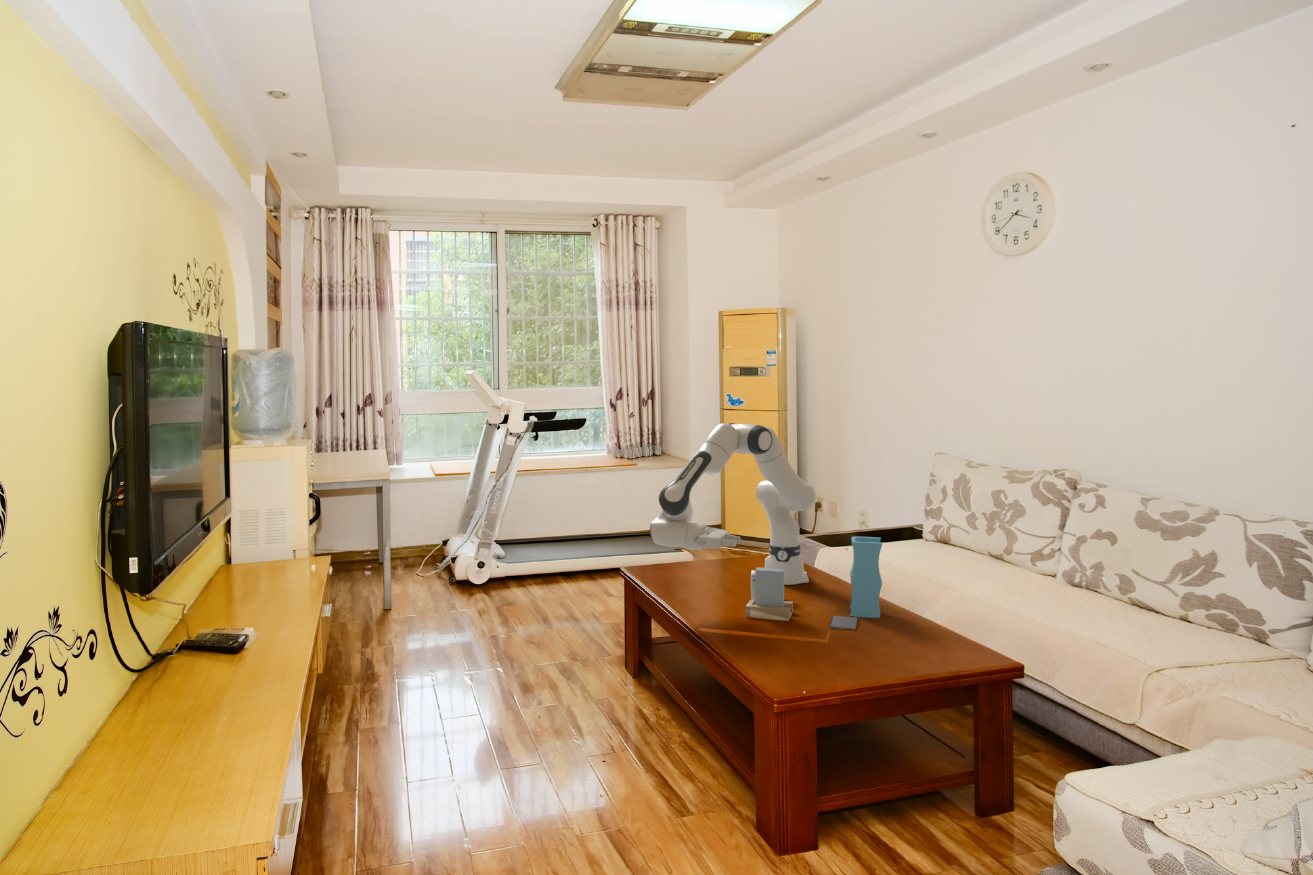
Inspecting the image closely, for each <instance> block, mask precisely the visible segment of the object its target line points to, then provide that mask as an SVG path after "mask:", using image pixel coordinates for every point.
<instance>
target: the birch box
mask: <svg viewBox="0 0 1313 875" xmlns="http://www.w3.org/2000/svg"><path fill="white" fill-rule="evenodd" d="M793 607H794V601H789V600H787V601H786V600H784V607H774V606H761V605H755V599H752V598H751V597H750V599H749V601H748V603H746V606H745V618H753V619H764V620H773V621H774V620H775V621H777V620H778V621H790V619H791V617H792V615H793V612H794V608H793Z"/></svg>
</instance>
